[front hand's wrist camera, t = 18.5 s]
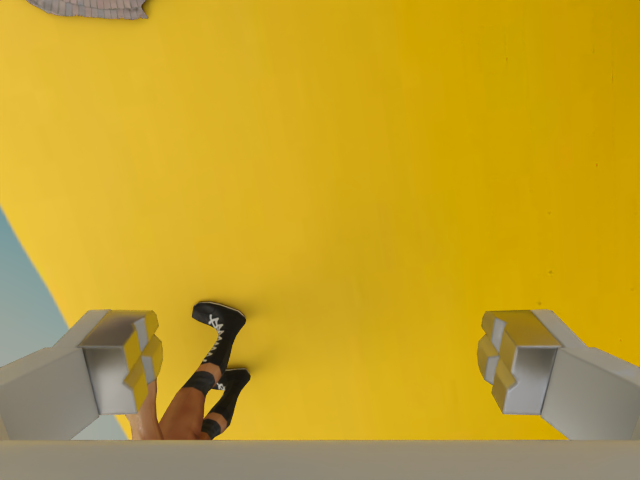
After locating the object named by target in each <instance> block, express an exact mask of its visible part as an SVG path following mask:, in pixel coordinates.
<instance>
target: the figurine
mask: <svg viewBox="0 0 640 480" xmlns="http://www.w3.org/2000/svg"><path fill="white" fill-rule="evenodd" d="M192 318H194V319H196V320H198V321H199V322H202V323H204V324H207V325H210V326H212V327H213V328H215V329H216V330H217V332H218V334H219V336H218V339H217V341H216V343H215V344H214V346H213V348H212V349H211V350H210V352H209V353H208V354H207V356H206V357H205V358H204V360H203V361H202V363H201V365H200V366H199V368H198V369H197V370H196V372H195V373H194V374H193V375H192V377H191V378H190V379H189V380H188V381H187V382H186V383H185V385H184V386H183V387H182V388H181V389H180V390H179V391H178V392H177V394H176V395H175V397H174V399H173V400H172V402H171V403H170V405H169V407H168V408H167V410H166V412H165V414H164V415H163V417H162V419H161V421H160V422H159V424H158V420H157V415H156V394H157V382H156V381H157V378H156V380H154V381H153V382H151V383H150V384H148V385H147V387H148V395H147V397H146V398H145V400H144V402H143V404H142V406H141V408H140V409H139V411H138V413H137V414H125V416H126V417H127V419H128V420H129V422H130V425H131V431H132V440H212V439H213V438H214V437H216V436H217V435H219V434H221V433H223V432H224V431H225V430H226V428H227V427H228V426H229V425H230V423H231V419H232V416H233V413H234V408H235V405H236V401H237V398H238V396H239V394H240V392H241V390H242V389H243V387H244V386H245V385H246V384H247V383H248V381H249V380H250V377H251V376H250V373H249V372H248V371H247V369H246V368H240V369H226V367H227V364H228V361H229V357H230V353H231V349H232V345H233V342H234V340H235V337H236V335H237V334H238V332H239V331H240V329H241V328H242V327H243V326H244V324H245V322H246V319H245V316H244V315H243V314H242V313H241V312H240V311H239V310H236V309H233V308H230V307H227V306H224V305H222V304H218V303H213V302H200V303H198V304H196V305H195V306H194V308H193V313H192ZM210 389H217V390H225V391H224V394H223V396H222V397H221V399H220V400H219V401H218V402H217V404H216V405H215V406H214V407H213V408H212V409H211V410H210V412H209V413H208V414H207V415H206V417H205V418H204V419H203V417H204V403H205V398H206V395H207V393H208V391H209V390H210Z"/></svg>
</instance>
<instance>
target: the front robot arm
mask: <svg viewBox="0 0 640 480" xmlns="http://www.w3.org/2000/svg"><path fill="white" fill-rule="evenodd" d="M158 326H159V325H158V320H157V315H156V314H155V312H154V311H149V310H111V309H109V310H90V311H88V312H87V313H86V314H85V315H84V316H83V317H82V318H81V319H80V320H79V321H78V322H77V323H76V324H75V325H74V326H73V327H72V328H71V329H70V330H69V331H68V332H67V333H66V334H65V335H64V336H63V337H62V338H61V339H60V340H59V341H58V342H57V343H56V344H55V345H54V346H53V347H52V348H43V349H41V350H38V351H36V352H34V353H32V354H29V355H27V356H25V357H23V358H21V359H18V360H16V361H14V362H11V363H9V364H7V365H5V366H2V367H0V480H640V367H637V366H635V365H633V364H631V363H629V362H626V361H624V360H622V359H620V358H617V357H615V356H613V355H611V354H608V353H606V352H604V351H602V350H599V349H597V348H588V347H587V346H586V345H585V344H584V343H583V342H582V341H581V340H580V339H579V338H578V337H577V336H576V335H575V334H574V333H573V332H572V331H571V330H570V329H569V328H568V327H567V326H566V325H565V324H564V323H563V322H562V321H561V320H560V318H559V317H558V316H557V315H556V314H555V313H554V312H553V311H550V310H547V309H543V310H511V311H486V312H485V314H484V316H483V319H482V325H481V326H482V328H483V330H484V331H485V333H486V334H485V335H484V336H483V338H482V339H481V340H480V341H479V343H478V350H477V357H478V365H479V369H480V372H481V374H482V376H483V378H484V380H486V381H487V382H489V383H490V384H492V385H493V387H492V395H493V397H494V398H495V400H496V402H497V404H498V406H499V408H500V409H501V411H502V413H503V414H520V415H541V417H542V418H543V419H544V420H545V421H547V422H548V423H549V424H551V425H552V426H553V427H554V428H556V429H557V430H558V431H559V432H561V433H562V434H563V435H565V436H566V437H567V438H568V439H570V440H70V439H72V438H73V437H74V436H76V435H77V434H78V433H79V432H80V431H82V430H83V429H84V428H86V427H87V426H88V425H90V424H91V423H92V422H93V421H95V420H96V419H97V418H99V415H120V414H137V413H138V411H139V409H140V408H141V406H142V404H143V402H144V400H145V398H146V397H147V395H148V387H147V385H148V384H150V383H151V382H153V381H154V380H156V378H157V376H158V374H159V372H160V369H161V364H162V360H163V349H162V342H161V341H160V340H159V339H158V338H157V336H156V335H155V334H154V333H155V331H156V330H157V328H158Z"/></svg>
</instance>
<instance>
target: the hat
mask: <svg viewBox="0 0 640 480" xmlns="http://www.w3.org/2000/svg"><path fill="white" fill-rule="evenodd" d="M27 1H28V2H29V3H30V4H32V5H34V6H36V7H38V8H40V9H42V10H44V11H45V12H47V13H52V14H54V15H59V16H60V15H61V16H76V14H77V15H78V16H79V15H81V16H84V17H100V18H101V17H102V18H108V19H114V18H115V19H120V18H124V19H131V20H134V19H138V18H139V17H141V18H148V17H147V15H146V14H145V13H144V11H143V10H142V7H141V6H142V4H143V3H144V2H145V1H146V0H27Z"/></svg>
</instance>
